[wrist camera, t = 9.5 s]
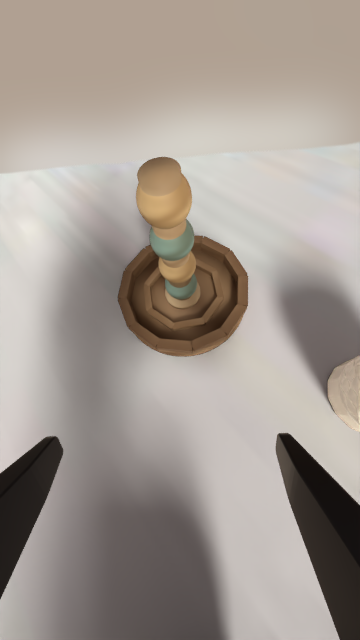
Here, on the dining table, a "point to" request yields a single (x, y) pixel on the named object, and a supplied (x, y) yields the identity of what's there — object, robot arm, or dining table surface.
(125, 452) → the dining table surface
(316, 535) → the robot arm
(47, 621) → the dining table surface
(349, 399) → the white cup
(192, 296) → the post
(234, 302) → the groove tray
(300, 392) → the dining table surface
